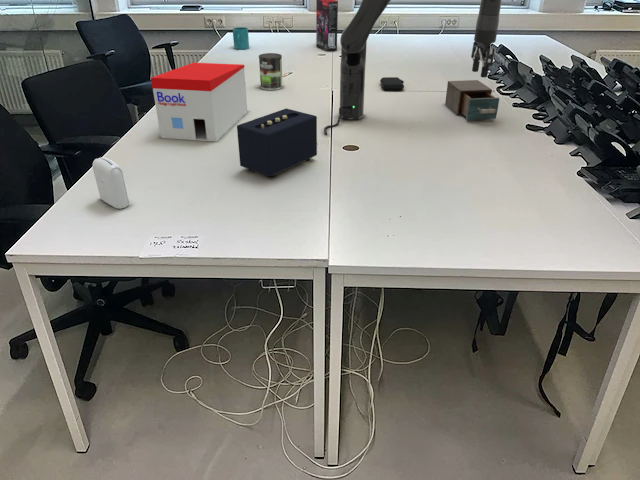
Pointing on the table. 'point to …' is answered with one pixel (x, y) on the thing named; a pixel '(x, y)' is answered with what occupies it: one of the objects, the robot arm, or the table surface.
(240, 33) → the cup
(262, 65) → the coffee can
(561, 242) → the table surface
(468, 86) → the box
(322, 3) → the graphics card box
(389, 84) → the carrying case
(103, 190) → the photo printer
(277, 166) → the speaker
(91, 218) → the table surface
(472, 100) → the drawer
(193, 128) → the bookstore
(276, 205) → the table surface
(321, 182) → the table surface
